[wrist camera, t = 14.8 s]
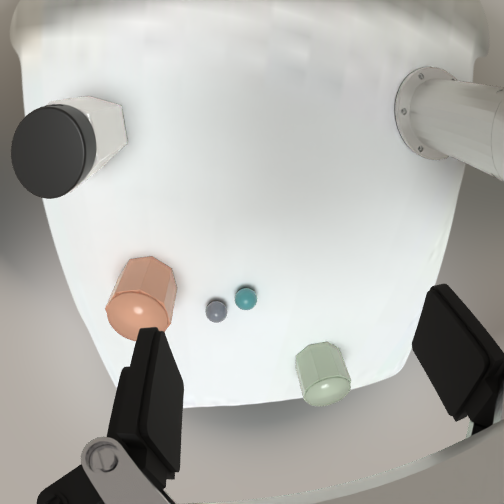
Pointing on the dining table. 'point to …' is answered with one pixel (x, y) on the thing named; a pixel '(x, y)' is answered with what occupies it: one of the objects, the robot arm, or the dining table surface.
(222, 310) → the marble
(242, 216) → the dining table surface
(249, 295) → the marble
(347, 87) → the dining table surface
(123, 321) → the peach octagonal canister
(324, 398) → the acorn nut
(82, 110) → the jar
